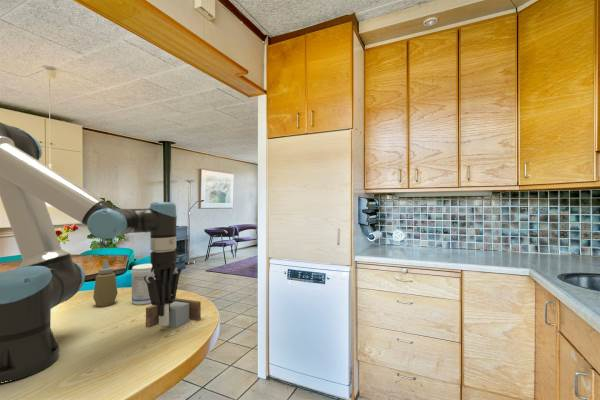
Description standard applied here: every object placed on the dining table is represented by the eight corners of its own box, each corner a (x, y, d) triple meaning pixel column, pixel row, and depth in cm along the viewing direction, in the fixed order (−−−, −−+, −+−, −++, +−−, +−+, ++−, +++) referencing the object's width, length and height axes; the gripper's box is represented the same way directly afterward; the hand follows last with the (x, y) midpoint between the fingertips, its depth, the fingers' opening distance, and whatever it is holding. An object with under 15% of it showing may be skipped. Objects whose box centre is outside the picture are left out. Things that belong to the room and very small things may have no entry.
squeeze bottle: (122, 301, 116) (122, 257, 117) (107, 308, 108) (107, 261, 109) (104, 300, 117) (104, 257, 118) (87, 307, 109) (88, 261, 109)
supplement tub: (136, 298, 120) (136, 264, 120) (160, 296, 122) (160, 262, 122) (128, 306, 110) (128, 268, 110) (154, 304, 112) (154, 267, 113)
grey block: (175, 328, 90) (175, 309, 90) (161, 325, 92) (161, 307, 92) (189, 320, 96) (189, 303, 96) (175, 318, 98) (175, 301, 98)
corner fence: (176, 332, 87) (176, 312, 87) (145, 326, 92) (145, 307, 92) (200, 318, 97) (200, 301, 97) (171, 314, 102) (171, 297, 102)
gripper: (155, 254, 82) (155, 335, 81) (187, 247, 94) (188, 318, 94) (136, 253, 85) (136, 331, 84) (170, 247, 97) (170, 315, 96)
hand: (163, 324), depth 89 cm, fingers closed
